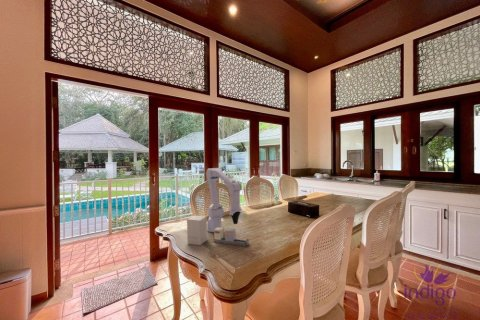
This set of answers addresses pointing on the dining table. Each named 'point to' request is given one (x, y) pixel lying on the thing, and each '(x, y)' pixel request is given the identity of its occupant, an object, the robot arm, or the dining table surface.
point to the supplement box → (197, 230)
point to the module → (230, 235)
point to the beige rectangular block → (218, 233)
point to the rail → (233, 242)
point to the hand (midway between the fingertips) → (235, 223)
